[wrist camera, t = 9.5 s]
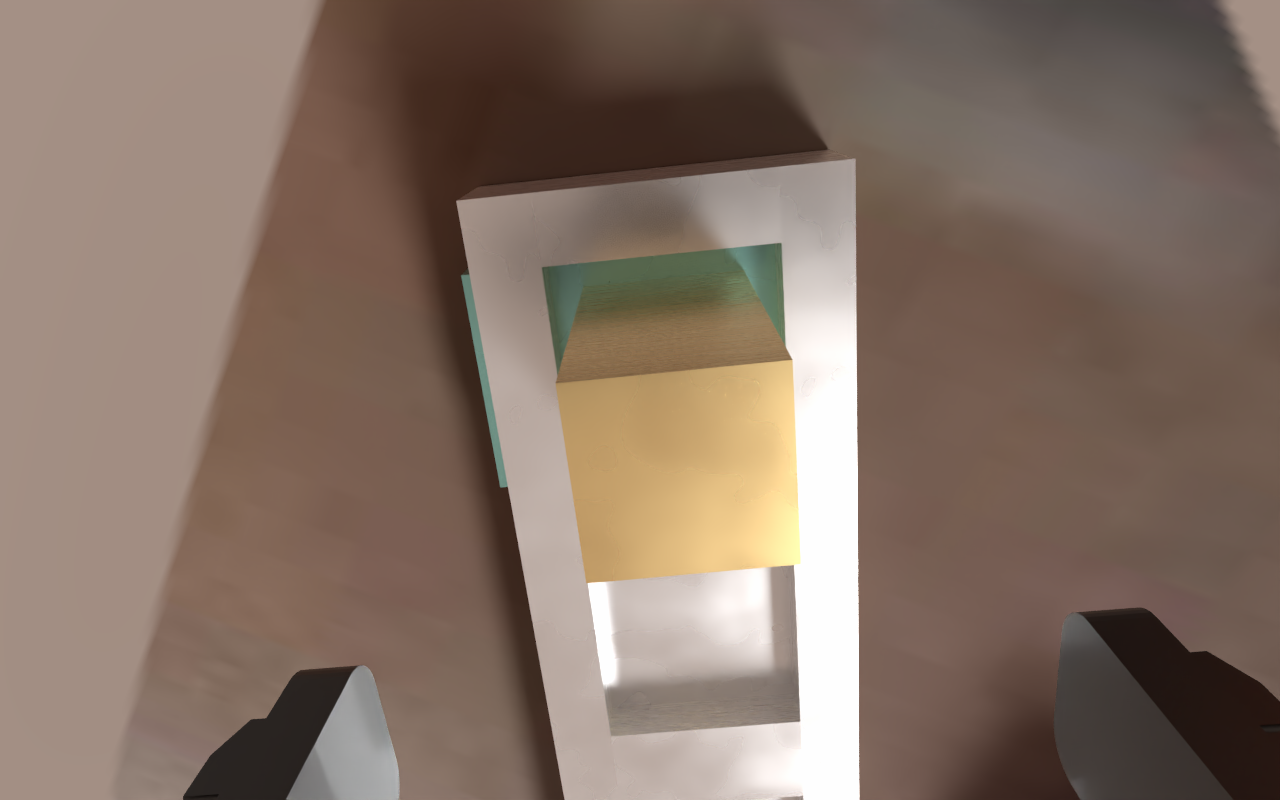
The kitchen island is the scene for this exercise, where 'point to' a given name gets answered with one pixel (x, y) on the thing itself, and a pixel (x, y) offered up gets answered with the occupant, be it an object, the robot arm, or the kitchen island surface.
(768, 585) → the white compartment tray
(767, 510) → the brass block
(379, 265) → the kitchen island surface
